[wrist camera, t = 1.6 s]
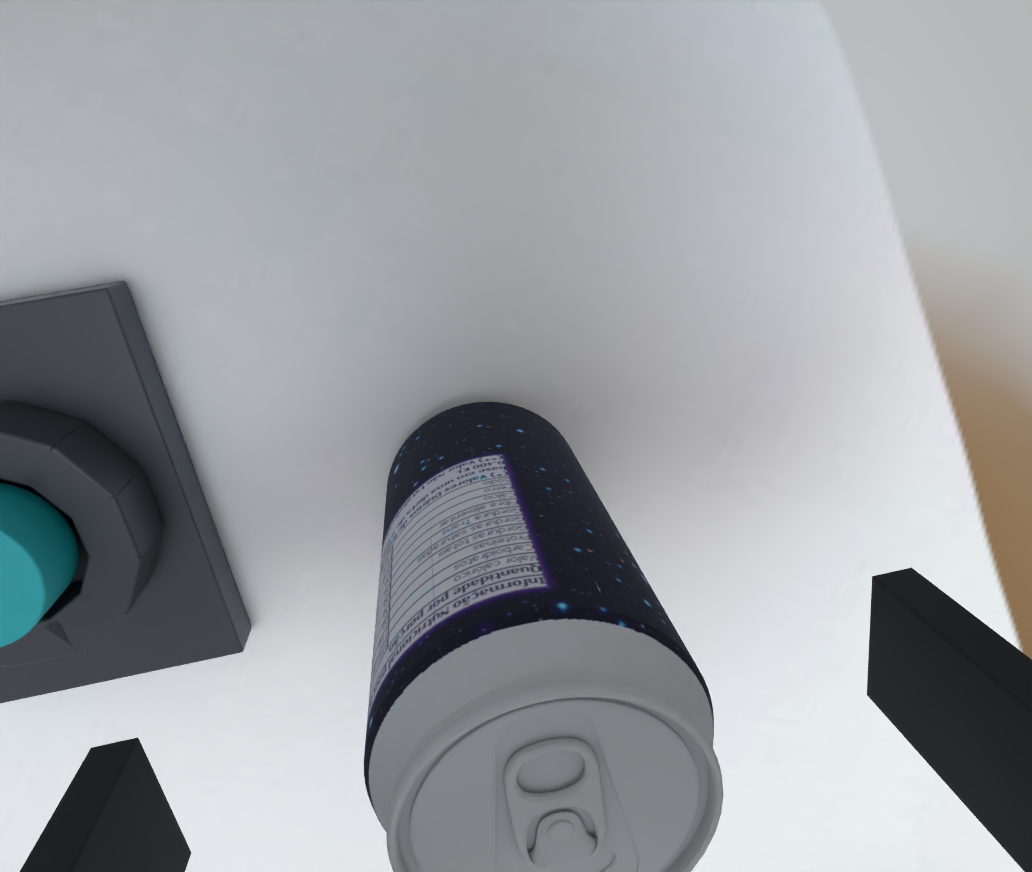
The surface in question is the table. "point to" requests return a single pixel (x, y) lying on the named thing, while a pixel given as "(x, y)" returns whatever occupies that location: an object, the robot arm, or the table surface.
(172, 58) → the table surface
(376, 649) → the beverage can
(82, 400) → the grey base plate
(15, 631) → the button
